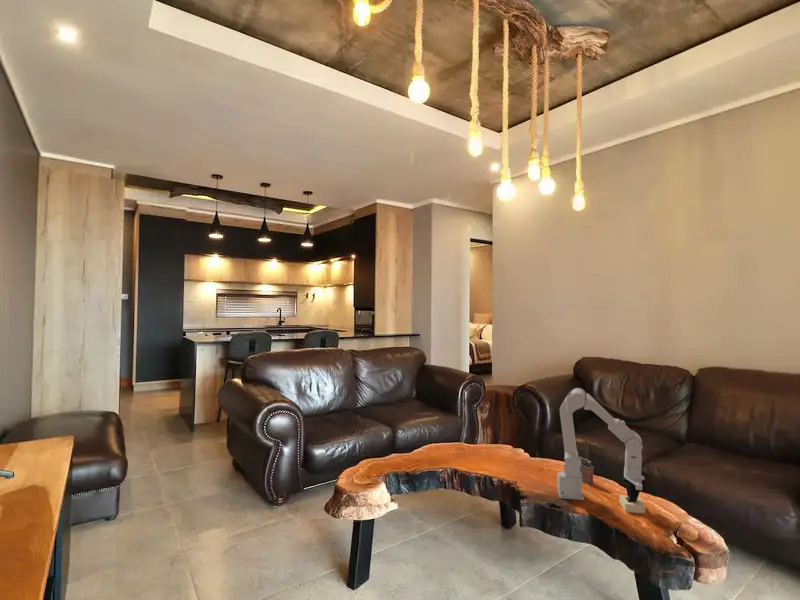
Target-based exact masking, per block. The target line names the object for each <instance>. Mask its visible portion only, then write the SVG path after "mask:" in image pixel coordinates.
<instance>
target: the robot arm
mask: <svg viewBox="0 0 800 600" xmlns="http://www.w3.org/2000/svg"><path fill="white" fill-rule="evenodd" d="M582 408H583V410H585V411H586V410H587V411H591V412H593V413H594V414H595V415H596V416H598V417H599V418H600V419H601V420H602V421H604V423H606V424H607V426H608V427H607V429H608V430H609V431H610V432H611V433H612V434H613V435H615V437H617V438H618V439H619V440H620V441H621V442H622V443H624V446H625V452H624V467H623V477H622V481H623V483H624V486H625V489H626V496H628V498H629V497H630V501H635V502H636V501H637V499H638V497H639V495H640V493H641V491H643V488H644V486H643V484H642V481H644V480H645V477H644V476H643V475H642V464H643V463H642V462H643V461H642V460H643V459H642V458H643V457H642V450H643V449H644V446H643V441H642V437H641V436H640V435H639V433H638V432H635V430H632V429H631V428H629V427H628V426H627V424H626V422H625V420H621V419H620V418H614V417H613V416H612V415H611V414H610V413H609V412H608V411H607V410H606V409H605V408H604V407H603V406H602V405H601V404H600V403H599V402H597V401H596V399H595V398H594V397H593V396H592V395H591V394H589V393H587V392H586V390H584V389H583V388H580V387H575V388H573V389H572V390H570V391H569V392H568V394H567V395H566V396H565V398H564V400H563V402H562V403H561V405H560V407H559V417H560V425H561V432H562V433H561V434H562V440H563V441H562V442H563V449H564V464H563V470H562V472H561V471H560V472H557V473H556V474H557V475H556V490H557V494H558V497H559V498H560V499H567V500H579V501H584V500H585V497H584V495H583V493H582V488H583V487H582V486H583V482H582V473H581V472H580V467H581V464H582V462H581V459H580V457H581V456H580V455H579V452H578V449H577V441H576V433H575V426H574V419H573V418H574V417H573V413H575V411H577V410H579V409H582Z"/></svg>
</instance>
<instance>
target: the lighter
mask: <svg viewBox="0 0 800 600" xmlns="http://www.w3.org/2000/svg"><path fill="white" fill-rule="evenodd" d="M579 457H580V459H581V462H582V464H581V467H580V472H581V473H582V483H584V484H586V483H587V485H590V486H593V485H594V469H595V467H594V466H593V465H592V461H591V460H589V459H588V458H584V457H582V456H579Z"/></svg>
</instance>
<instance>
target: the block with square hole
mask: <svg viewBox="0 0 800 600" xmlns="http://www.w3.org/2000/svg"><path fill="white" fill-rule="evenodd" d="M620 503H621V504H620ZM619 504H620V505H621V507H622V509H623V510H624V512H626V513H635V514H636V513H637V514H638V513H639V514H646V505H645V503H644V502H643V500H642V499H641V498H640V496H638V499H637V501H636V502H635V503H630V502H629V498H628V495H627V494H626V495H625V494H619Z"/></svg>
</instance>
